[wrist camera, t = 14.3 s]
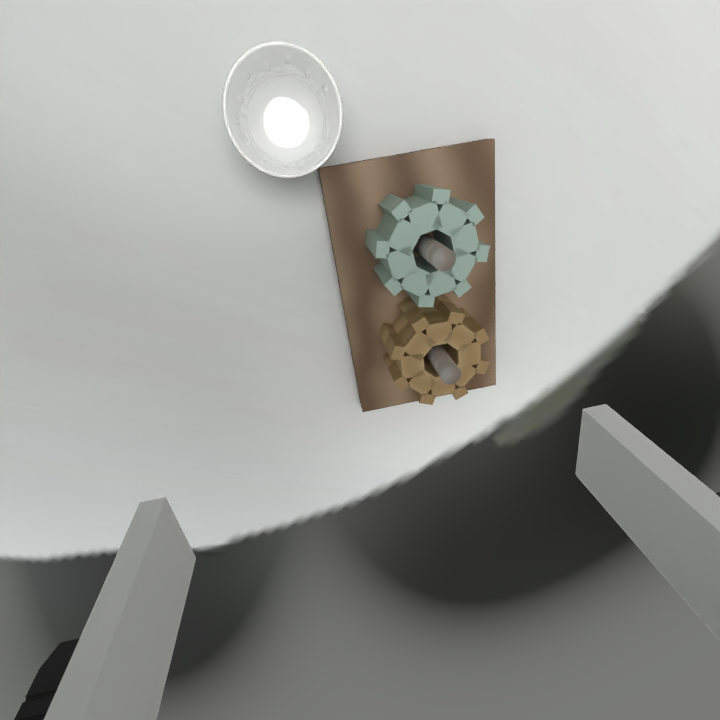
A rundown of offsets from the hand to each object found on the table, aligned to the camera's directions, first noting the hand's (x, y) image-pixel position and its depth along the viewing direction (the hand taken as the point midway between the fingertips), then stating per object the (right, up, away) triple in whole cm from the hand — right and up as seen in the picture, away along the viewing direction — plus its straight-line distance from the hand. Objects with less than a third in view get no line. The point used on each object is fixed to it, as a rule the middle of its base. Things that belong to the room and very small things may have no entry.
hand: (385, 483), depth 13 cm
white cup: (-7, +25, +24) cm, 35 cm away
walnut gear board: (+5, +12, +32) cm, 34 cm away
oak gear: (+6, +7, +32) cm, 34 cm away
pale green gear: (+5, +16, +27) cm, 32 cm away
